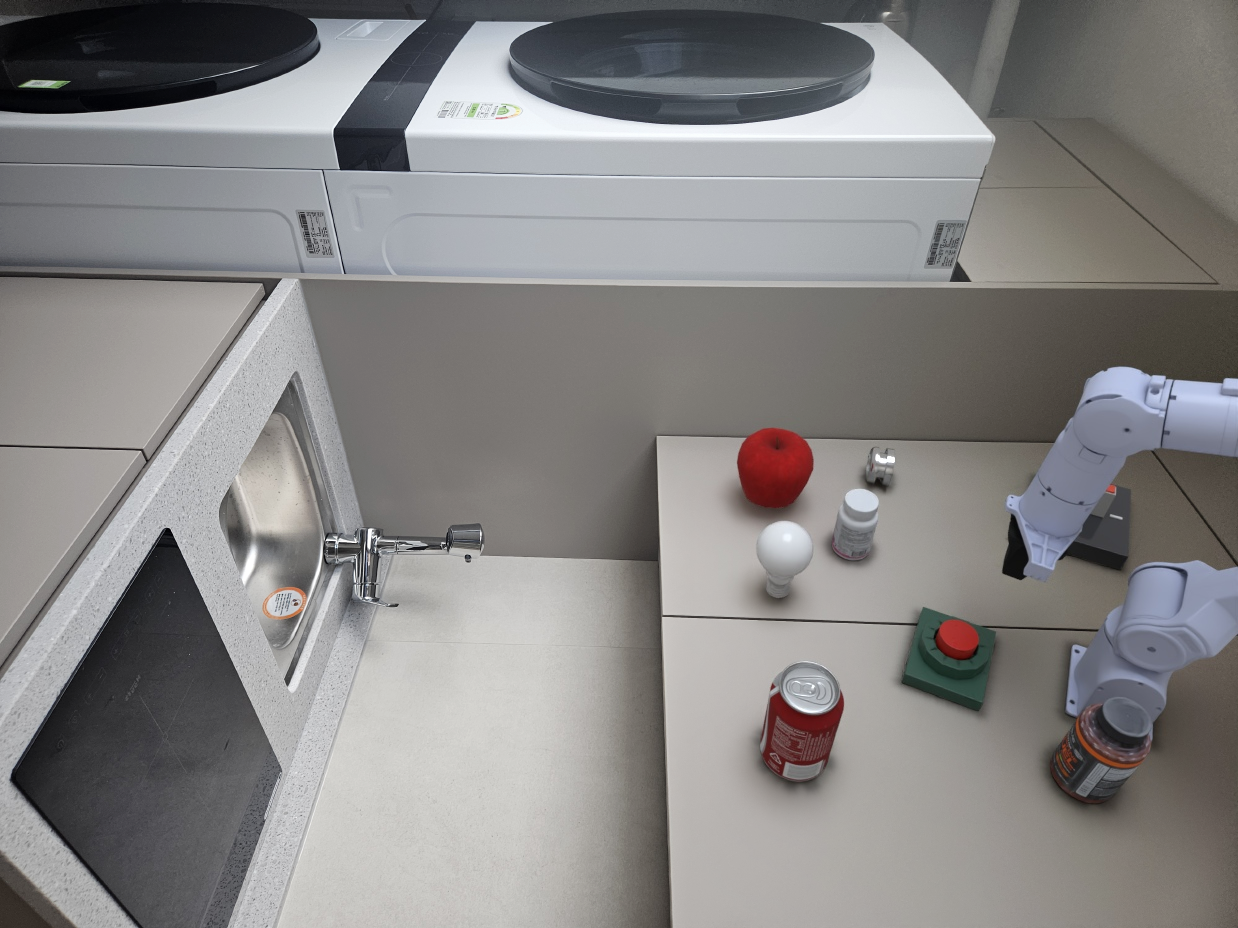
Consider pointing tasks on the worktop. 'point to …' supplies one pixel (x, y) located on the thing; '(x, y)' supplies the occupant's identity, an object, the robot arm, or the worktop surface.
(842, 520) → the pill bottle
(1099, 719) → the supplement bottle
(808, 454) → the apple
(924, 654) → the button block
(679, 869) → the worktop surface
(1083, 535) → the block
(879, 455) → the grooved metal pulley
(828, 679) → the soda can
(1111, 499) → the knob
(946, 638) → the button
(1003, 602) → the worktop surface
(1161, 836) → the worktop surface
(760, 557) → the lightbulb
